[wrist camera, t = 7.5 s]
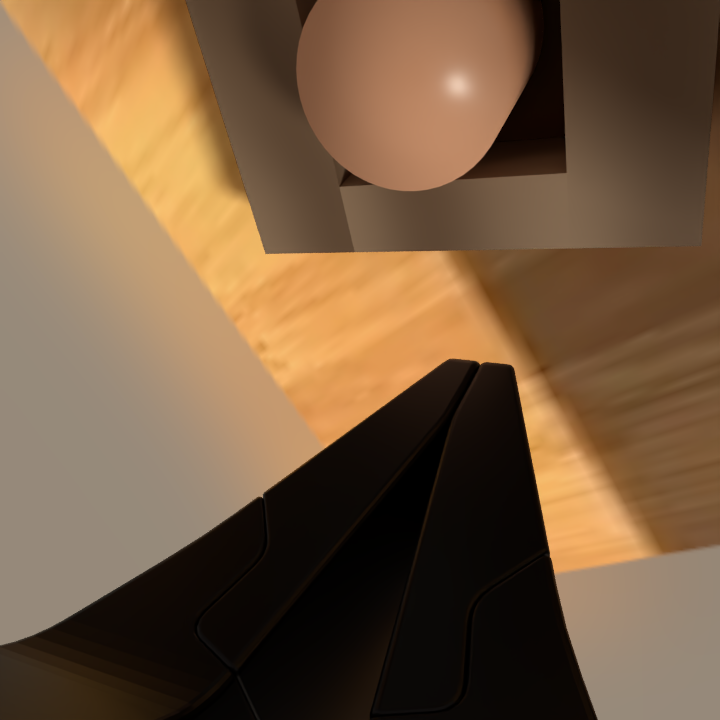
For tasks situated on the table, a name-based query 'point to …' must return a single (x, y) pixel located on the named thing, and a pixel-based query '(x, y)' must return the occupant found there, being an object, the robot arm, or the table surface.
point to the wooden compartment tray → (503, 159)
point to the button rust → (414, 82)
